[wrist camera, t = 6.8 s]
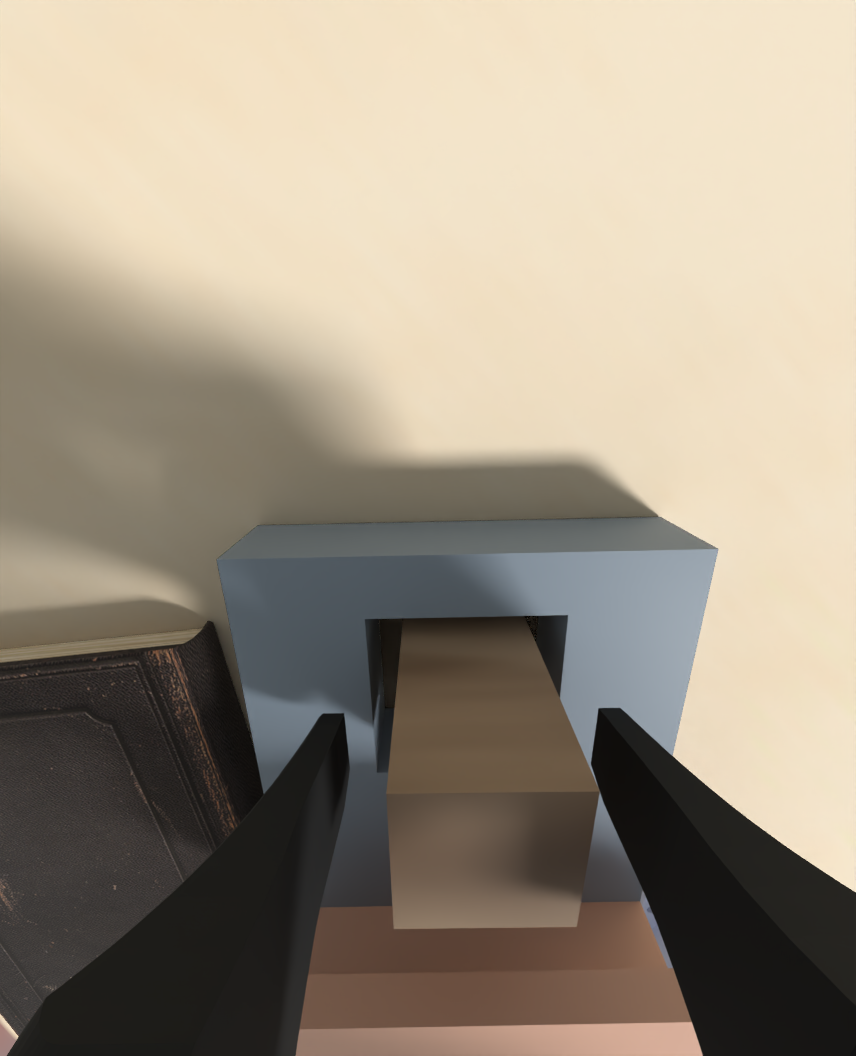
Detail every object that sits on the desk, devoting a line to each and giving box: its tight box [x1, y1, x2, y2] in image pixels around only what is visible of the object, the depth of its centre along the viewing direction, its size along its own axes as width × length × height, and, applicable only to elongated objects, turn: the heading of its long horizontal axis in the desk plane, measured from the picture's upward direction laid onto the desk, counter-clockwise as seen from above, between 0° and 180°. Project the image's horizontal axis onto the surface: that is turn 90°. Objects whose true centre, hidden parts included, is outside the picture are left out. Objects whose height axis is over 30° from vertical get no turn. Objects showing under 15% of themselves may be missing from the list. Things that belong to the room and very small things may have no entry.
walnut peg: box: [386, 616, 600, 929], centre depth 12 cm, size 4×4×8 cm
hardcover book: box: [0, 621, 264, 1036], centre depth 19 cm, size 16×23×2 cm
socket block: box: [217, 517, 718, 907], centre depth 16 cm, size 16×14×3 cm
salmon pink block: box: [296, 901, 703, 1056], centre depth 13 cm, size 6×14×5 cm, turn 91°
